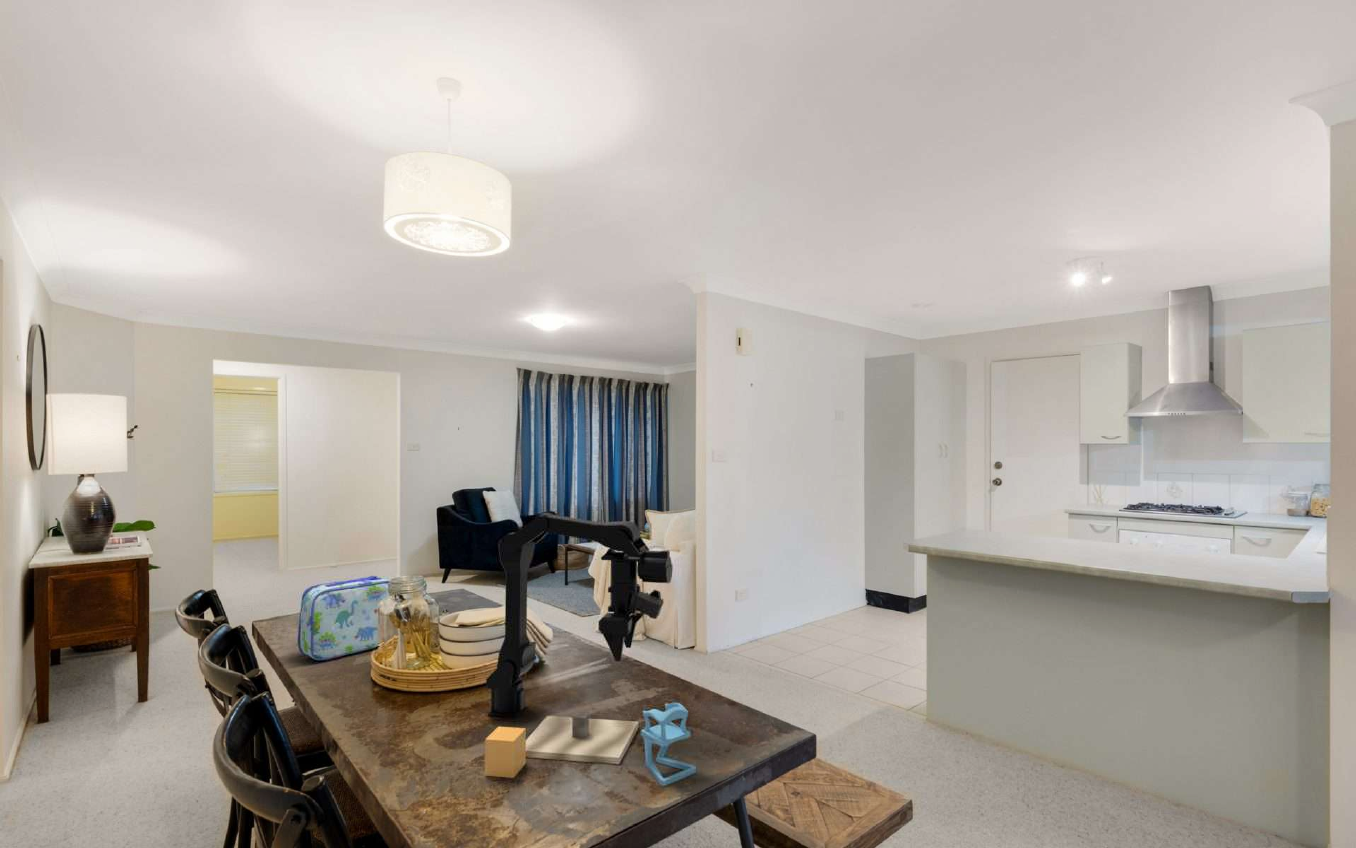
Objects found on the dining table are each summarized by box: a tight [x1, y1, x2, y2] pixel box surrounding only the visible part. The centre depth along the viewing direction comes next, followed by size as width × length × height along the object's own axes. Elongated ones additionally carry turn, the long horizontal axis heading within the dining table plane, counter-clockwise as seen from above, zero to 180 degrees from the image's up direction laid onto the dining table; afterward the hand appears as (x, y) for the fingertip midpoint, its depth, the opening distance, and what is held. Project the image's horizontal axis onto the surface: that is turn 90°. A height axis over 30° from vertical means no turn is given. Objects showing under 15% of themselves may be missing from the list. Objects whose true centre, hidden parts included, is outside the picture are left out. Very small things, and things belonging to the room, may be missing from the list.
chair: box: [640, 702, 697, 787], centre depth 118 cm, size 8×8×12 cm
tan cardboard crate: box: [484, 726, 527, 779], centre depth 119 cm, size 5×5×6 cm
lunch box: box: [297, 575, 392, 661], centre depth 190 cm, size 26×11×21 cm, turn 141°
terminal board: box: [526, 711, 639, 765], centre depth 130 cm, size 20×16×5 cm
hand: (623, 654), depth 140 cm, fingers open, 9 cm apart
